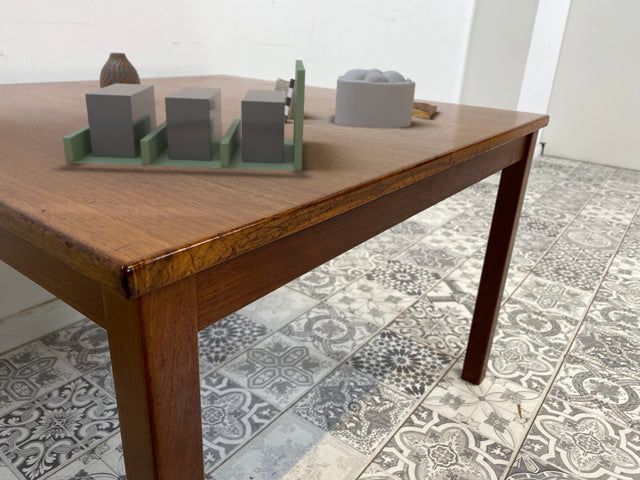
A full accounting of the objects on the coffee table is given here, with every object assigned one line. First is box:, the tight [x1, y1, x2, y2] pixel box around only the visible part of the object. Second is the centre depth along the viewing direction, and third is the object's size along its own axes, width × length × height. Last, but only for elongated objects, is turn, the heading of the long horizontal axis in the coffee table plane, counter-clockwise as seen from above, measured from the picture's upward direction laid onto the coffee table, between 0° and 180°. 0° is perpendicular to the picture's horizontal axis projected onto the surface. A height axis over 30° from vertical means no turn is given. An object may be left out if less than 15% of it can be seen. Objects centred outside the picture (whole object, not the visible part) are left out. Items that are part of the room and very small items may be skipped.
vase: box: [99, 52, 142, 89], centre depth 94 cm, size 7×7×9 cm
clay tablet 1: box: [164, 86, 223, 161], centre depth 59 cm, size 4×10×6 cm, turn 3°
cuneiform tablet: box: [273, 77, 306, 124], centre depth 89 cm, size 7×4×12 cm
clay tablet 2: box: [240, 88, 286, 163], centre depth 60 cm, size 4×10×6 cm, turn 3°
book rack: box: [62, 59, 306, 172], centre depth 59 cm, size 24×15×11 cm, turn 93°
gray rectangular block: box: [84, 83, 158, 158], centre depth 59 cm, size 4×10×6 cm, turn 3°
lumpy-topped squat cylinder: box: [334, 68, 416, 129], centre depth 88 cm, size 10×13×9 cm
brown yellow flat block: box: [412, 101, 438, 120], centre depth 100 cm, size 11×8×2 cm
